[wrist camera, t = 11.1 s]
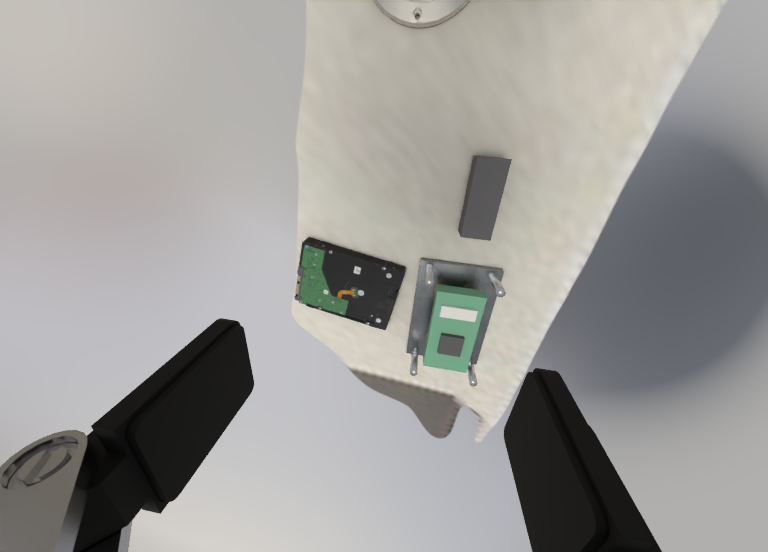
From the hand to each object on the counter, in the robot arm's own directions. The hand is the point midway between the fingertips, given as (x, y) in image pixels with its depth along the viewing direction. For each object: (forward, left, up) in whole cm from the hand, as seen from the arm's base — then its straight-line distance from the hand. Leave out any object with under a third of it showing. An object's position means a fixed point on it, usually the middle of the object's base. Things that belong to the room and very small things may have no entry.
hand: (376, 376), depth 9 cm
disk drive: (+12, -8, -30) cm, 34 cm away
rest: (-2, +8, -30) cm, 31 cm away
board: (+15, +7, -26) cm, 31 cm away
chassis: (+15, +7, -30) cm, 34 cm away
